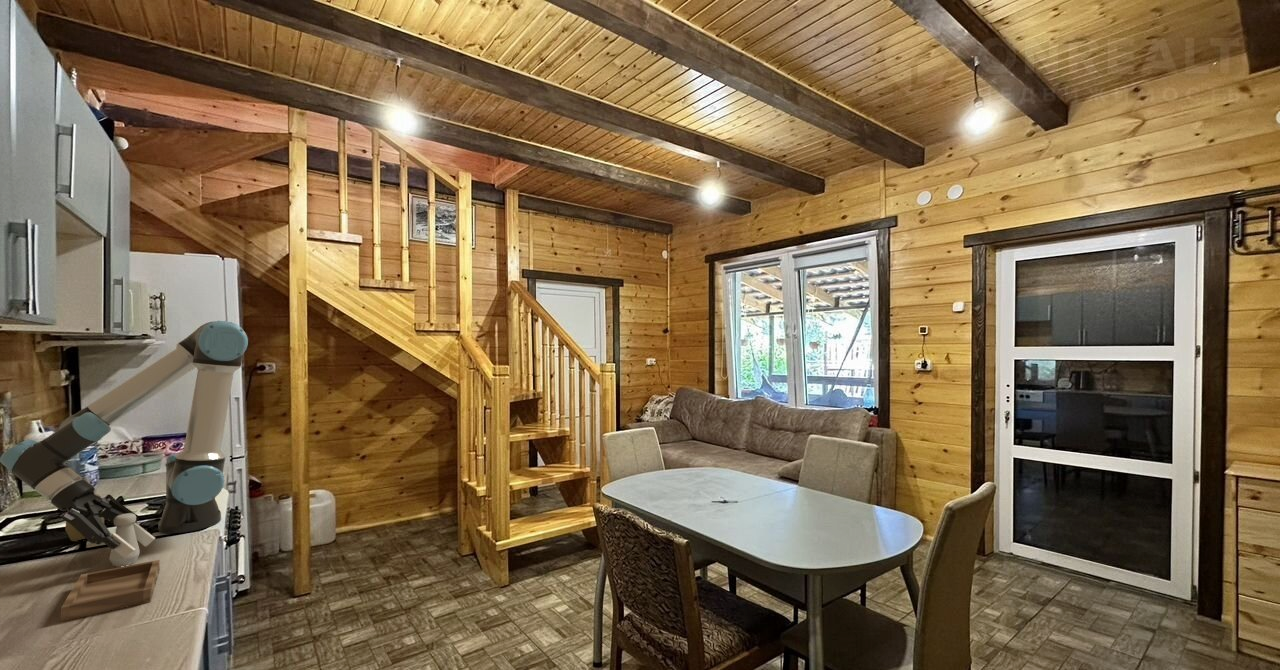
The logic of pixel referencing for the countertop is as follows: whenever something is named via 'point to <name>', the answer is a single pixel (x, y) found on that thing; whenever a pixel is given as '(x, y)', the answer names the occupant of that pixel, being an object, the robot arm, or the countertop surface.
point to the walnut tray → (111, 590)
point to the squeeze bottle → (70, 530)
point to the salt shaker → (127, 534)
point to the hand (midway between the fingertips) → (140, 547)
